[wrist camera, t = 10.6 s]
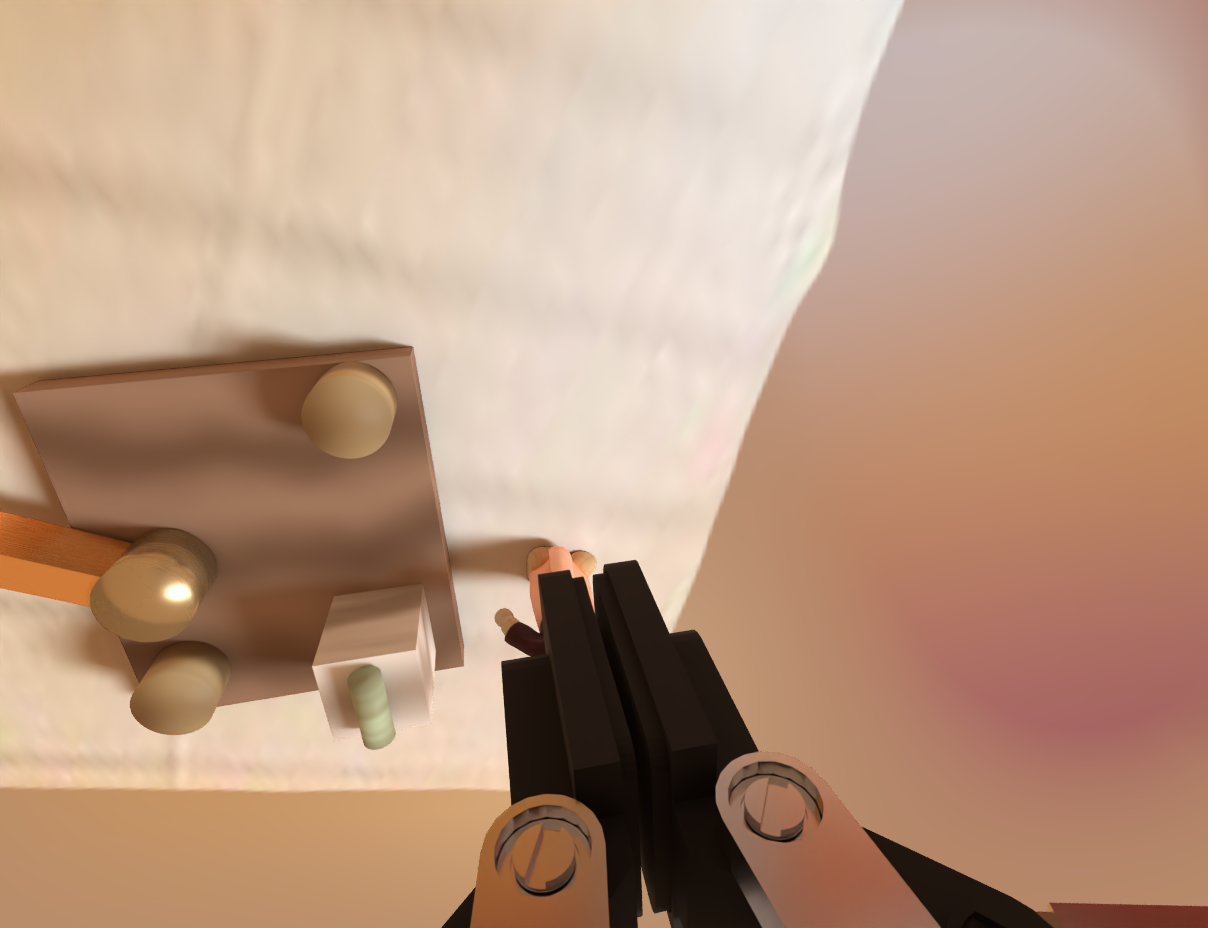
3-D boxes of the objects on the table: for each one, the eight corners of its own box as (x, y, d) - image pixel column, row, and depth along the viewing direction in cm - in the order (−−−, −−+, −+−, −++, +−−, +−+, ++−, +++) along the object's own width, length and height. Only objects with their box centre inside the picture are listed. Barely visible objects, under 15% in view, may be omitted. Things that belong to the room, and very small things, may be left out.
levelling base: (37, 381, 32) (-118, 456, 24) (413, 346, 35) (395, 403, 27) (167, 693, 41) (87, 833, 32) (463, 645, 43) (463, 763, 35)
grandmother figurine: (613, 537, 42) (667, 672, 31) (608, 588, 44) (657, 734, 32) (491, 540, 41) (501, 683, 29) (490, 592, 42) (499, 748, 31)
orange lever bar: (226, 542, 35) (202, 579, 32) (207, 608, 37) (182, 650, 33) (-38, 475, 31) (-97, 510, 28) (-49, 551, 33) (-106, 593, 29)
